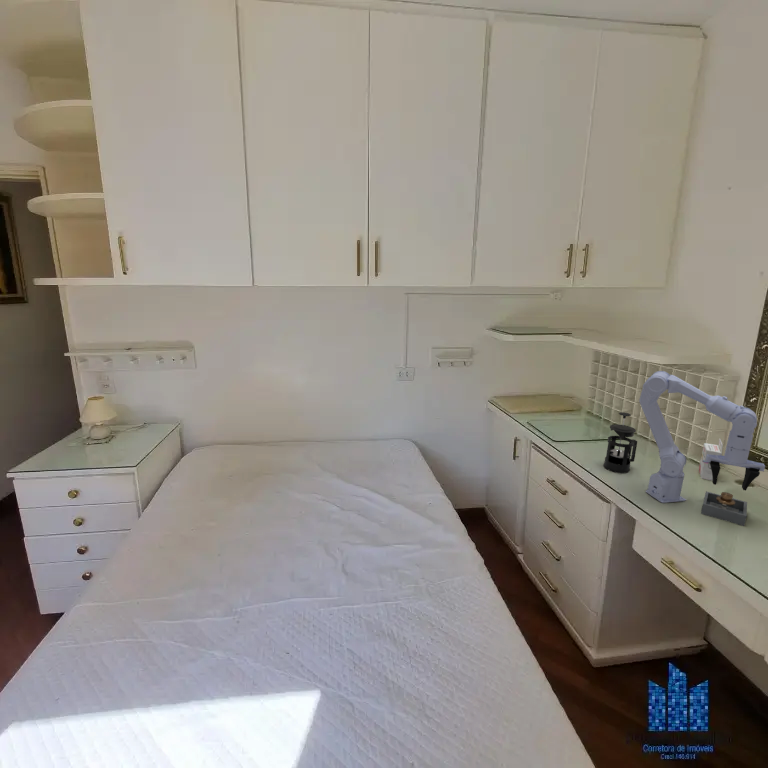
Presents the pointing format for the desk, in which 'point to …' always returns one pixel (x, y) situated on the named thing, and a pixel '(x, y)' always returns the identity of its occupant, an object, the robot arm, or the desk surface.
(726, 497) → the plunger
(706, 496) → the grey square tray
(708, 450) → the ink cartridge box
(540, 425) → the desk surface
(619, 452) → the french press
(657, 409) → the robot arm
